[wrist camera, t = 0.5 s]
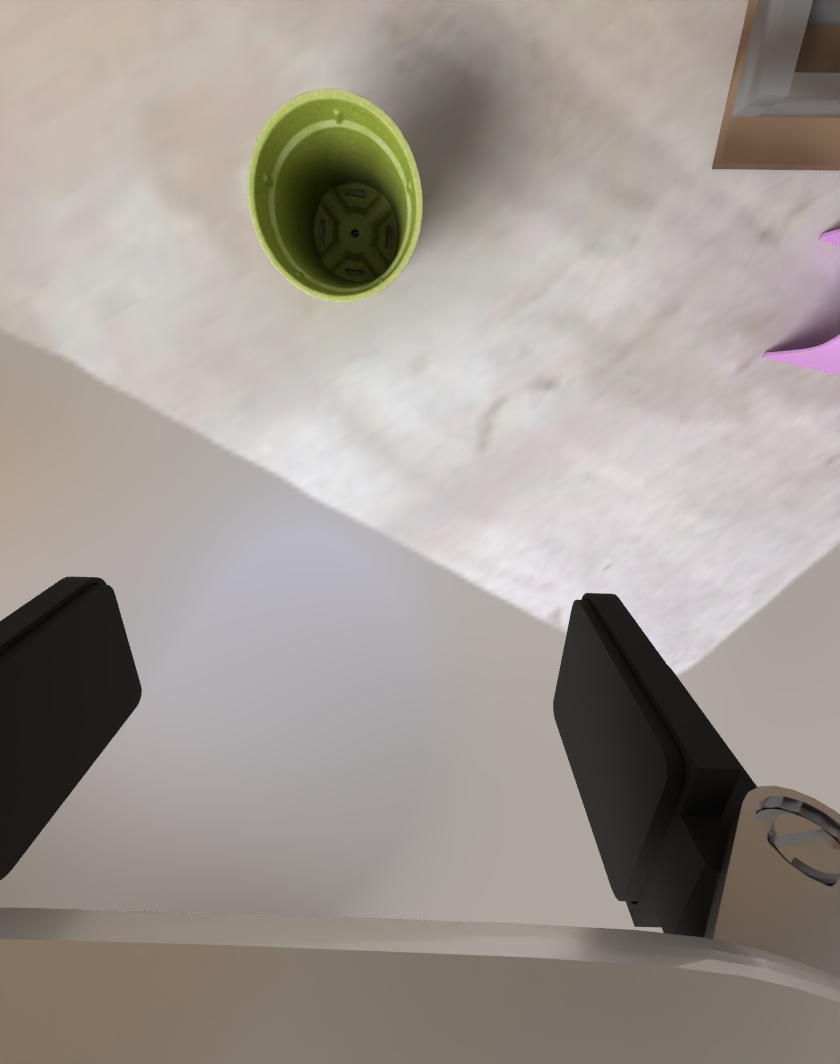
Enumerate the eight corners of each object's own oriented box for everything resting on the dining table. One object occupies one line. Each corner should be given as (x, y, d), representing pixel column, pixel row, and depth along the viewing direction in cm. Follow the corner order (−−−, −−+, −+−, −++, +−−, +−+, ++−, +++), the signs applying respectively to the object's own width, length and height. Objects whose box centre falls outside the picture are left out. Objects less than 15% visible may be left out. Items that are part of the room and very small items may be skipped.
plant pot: (427, 156, 30) (427, 93, 22) (420, 312, 34) (418, 306, 26) (286, 147, 30) (237, 82, 22) (295, 305, 34) (256, 297, 26)
